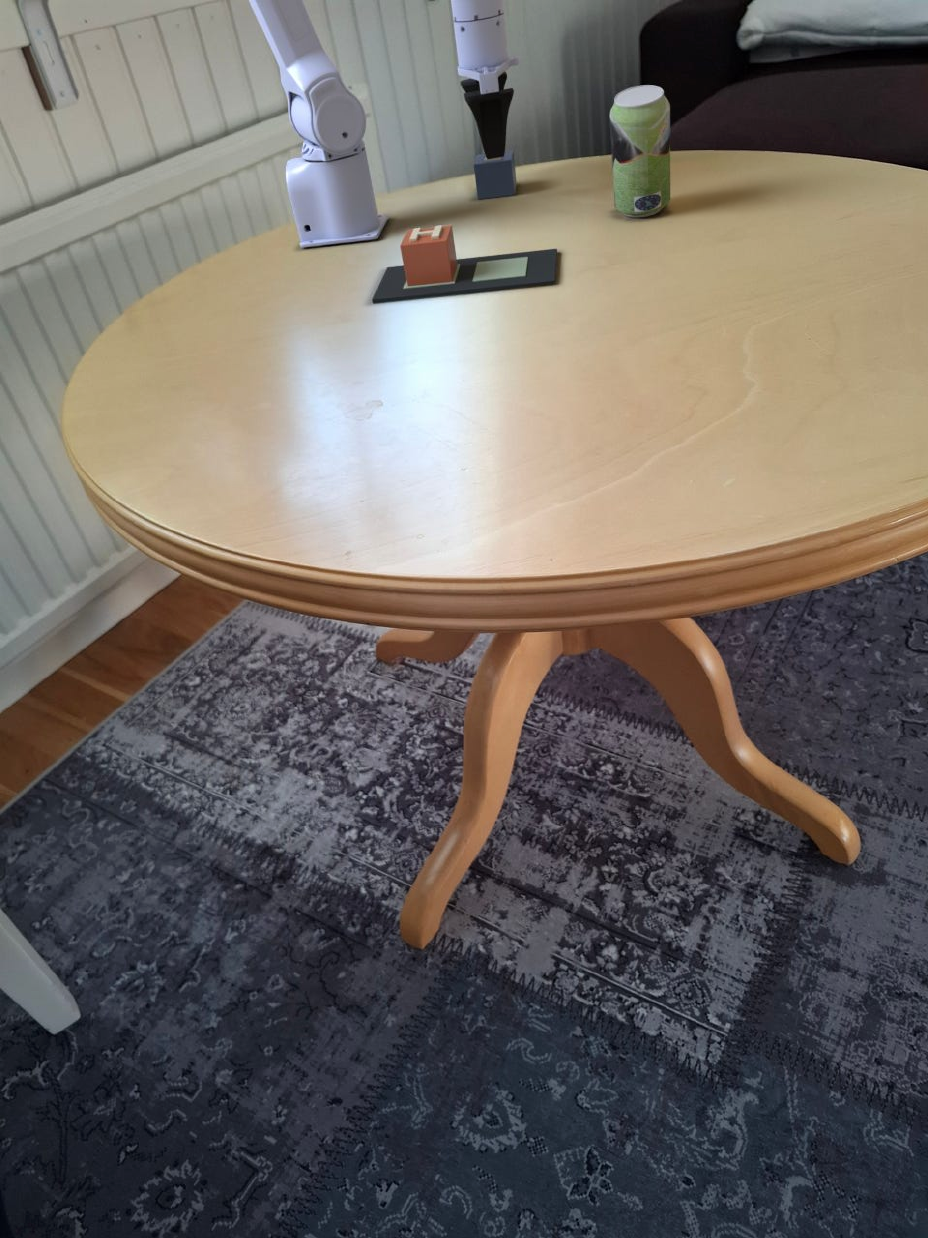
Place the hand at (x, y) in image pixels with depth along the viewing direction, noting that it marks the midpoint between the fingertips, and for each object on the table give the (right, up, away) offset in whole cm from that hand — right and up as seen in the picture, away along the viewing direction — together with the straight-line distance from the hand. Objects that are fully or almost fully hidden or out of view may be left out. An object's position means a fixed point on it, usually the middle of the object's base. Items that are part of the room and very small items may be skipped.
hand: (493, 149), depth 108 cm
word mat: (-3, -23, -18) cm, 29 cm away
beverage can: (+16, -13, -11) cm, 23 cm away
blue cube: (+1, -4, +3) cm, 5 cm away
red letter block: (-7, -22, -18) cm, 30 cm away
